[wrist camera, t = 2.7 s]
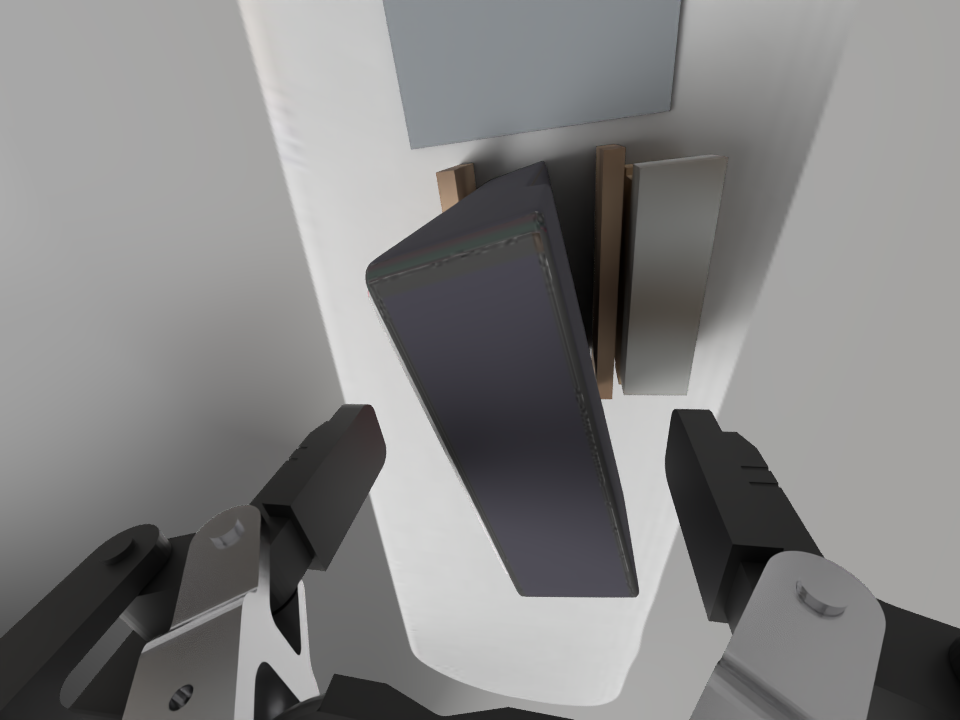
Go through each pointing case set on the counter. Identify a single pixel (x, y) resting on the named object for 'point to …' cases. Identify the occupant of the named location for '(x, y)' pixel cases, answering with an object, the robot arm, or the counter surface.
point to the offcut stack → (664, 269)
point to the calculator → (511, 384)
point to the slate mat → (528, 64)
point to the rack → (606, 248)
